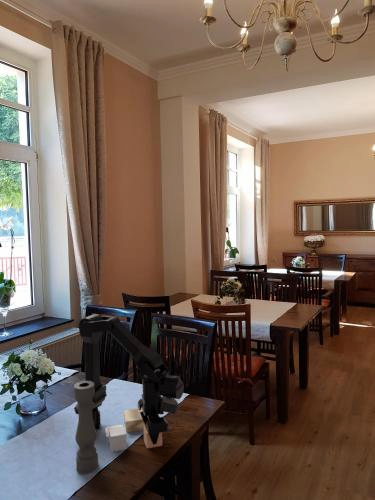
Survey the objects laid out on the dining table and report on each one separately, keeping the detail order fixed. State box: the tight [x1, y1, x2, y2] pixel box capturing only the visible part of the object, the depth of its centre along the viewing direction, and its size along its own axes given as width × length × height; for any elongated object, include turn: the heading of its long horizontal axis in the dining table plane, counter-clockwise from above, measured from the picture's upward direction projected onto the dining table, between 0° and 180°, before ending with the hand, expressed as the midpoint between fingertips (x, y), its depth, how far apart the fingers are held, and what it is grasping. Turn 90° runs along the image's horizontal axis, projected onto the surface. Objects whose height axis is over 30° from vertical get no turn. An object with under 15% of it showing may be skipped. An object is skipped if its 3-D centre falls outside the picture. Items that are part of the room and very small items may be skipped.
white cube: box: [108, 425, 128, 453], centre depth 126 cm, size 5×5×5 cm
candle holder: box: [73, 380, 99, 475], centre depth 115 cm, size 6×6×25 cm
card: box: [104, 424, 123, 438], centre depth 135 cm, size 6×6×1 cm
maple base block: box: [123, 408, 145, 433], centre depth 139 cm, size 8×8×4 cm
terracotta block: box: [143, 425, 163, 449], centre depth 128 cm, size 5×5×5 cm
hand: (152, 439), depth 128 cm, fingers closed on terracotta block, 5 cm apart
